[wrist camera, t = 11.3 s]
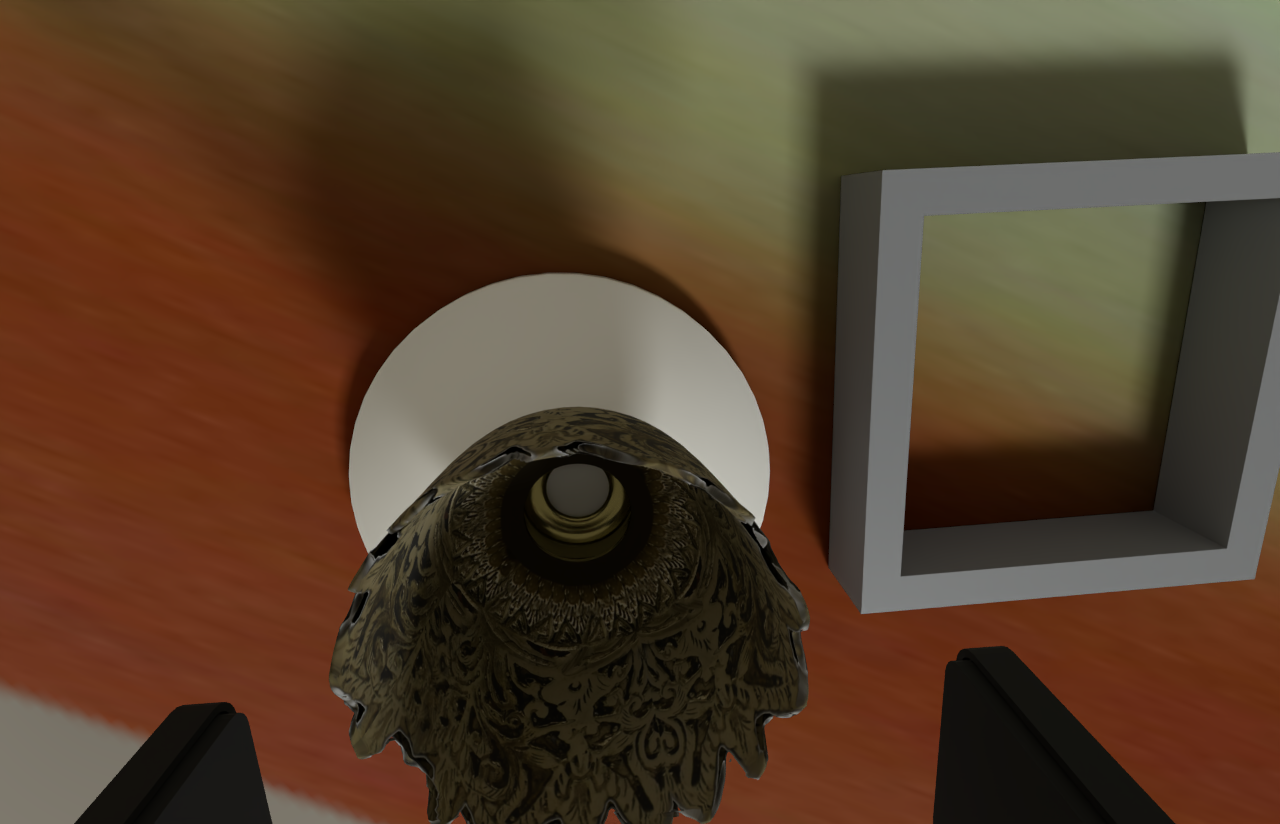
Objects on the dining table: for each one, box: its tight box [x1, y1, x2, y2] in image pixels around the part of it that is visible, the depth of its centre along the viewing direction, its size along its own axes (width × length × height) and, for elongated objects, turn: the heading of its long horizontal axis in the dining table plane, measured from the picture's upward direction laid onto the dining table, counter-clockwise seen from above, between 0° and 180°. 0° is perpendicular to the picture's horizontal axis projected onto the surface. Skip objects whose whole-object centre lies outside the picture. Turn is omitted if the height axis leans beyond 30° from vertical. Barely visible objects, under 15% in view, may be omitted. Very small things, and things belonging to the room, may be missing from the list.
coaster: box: [349, 272, 770, 554], centre depth 19 cm, size 11×11×1 cm
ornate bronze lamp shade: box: [329, 407, 810, 824], centre depth 15 cm, size 8×7×8 cm
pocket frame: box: [829, 152, 1280, 614], centre depth 18 cm, size 11×11×2 cm
